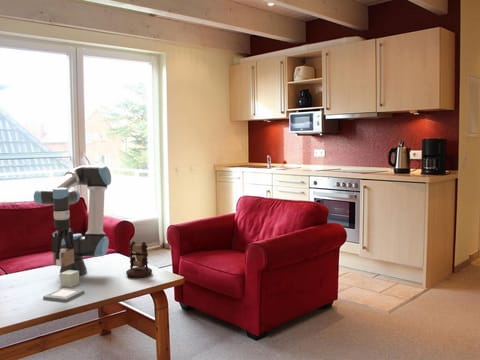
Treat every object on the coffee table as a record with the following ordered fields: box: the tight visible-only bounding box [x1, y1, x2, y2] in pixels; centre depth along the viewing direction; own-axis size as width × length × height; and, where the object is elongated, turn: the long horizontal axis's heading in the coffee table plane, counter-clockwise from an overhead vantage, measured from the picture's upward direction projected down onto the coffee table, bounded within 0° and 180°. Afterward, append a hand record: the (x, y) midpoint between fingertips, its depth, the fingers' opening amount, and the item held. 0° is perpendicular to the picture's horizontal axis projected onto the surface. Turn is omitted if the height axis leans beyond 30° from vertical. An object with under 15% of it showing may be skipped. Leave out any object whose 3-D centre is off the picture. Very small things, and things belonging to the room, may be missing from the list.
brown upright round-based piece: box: [125, 240, 153, 279], centre depth 273 cm, size 15×15×20 cm
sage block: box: [59, 270, 80, 288], centre depth 258 cm, size 7×7×7 cm
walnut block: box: [52, 248, 74, 267], centre depth 237 cm, size 7×7×7 cm
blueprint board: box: [42, 287, 85, 303], centre depth 239 cm, size 14×14×2 cm
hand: (64, 263), depth 237 cm, fingers closed on walnut block, 7 cm apart
